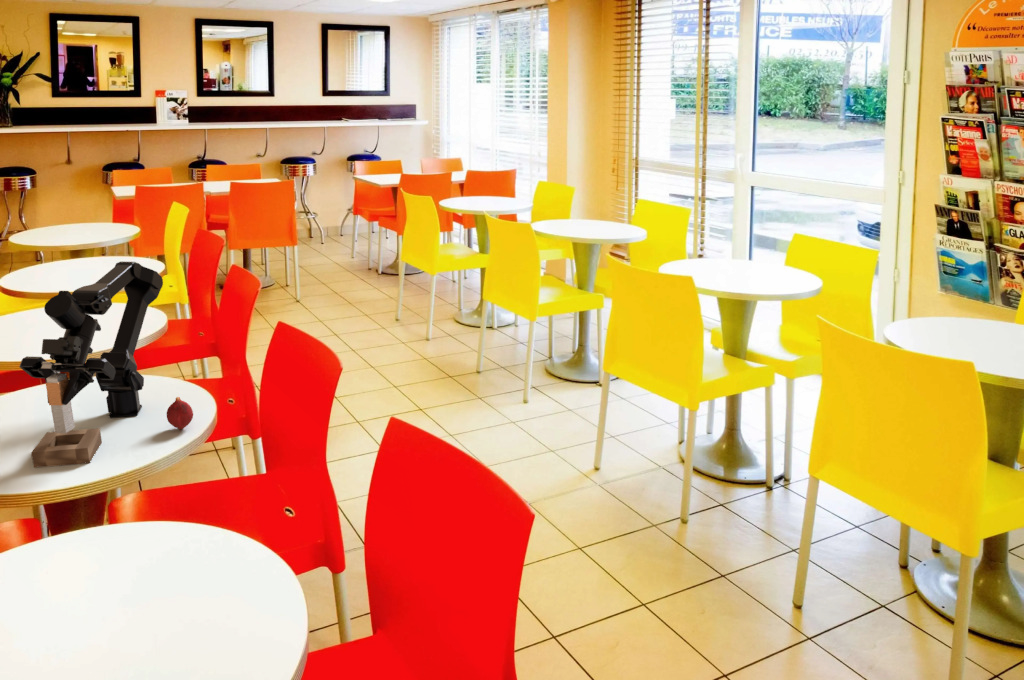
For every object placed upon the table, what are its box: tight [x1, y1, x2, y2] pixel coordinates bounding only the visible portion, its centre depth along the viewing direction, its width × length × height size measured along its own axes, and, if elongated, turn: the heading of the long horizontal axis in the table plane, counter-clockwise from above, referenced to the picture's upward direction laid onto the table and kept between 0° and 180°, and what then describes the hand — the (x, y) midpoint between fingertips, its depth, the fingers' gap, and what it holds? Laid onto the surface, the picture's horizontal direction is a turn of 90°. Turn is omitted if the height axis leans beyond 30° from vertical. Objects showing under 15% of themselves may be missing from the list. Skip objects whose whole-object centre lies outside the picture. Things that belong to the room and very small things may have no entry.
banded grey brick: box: [45, 372, 76, 433], centre depth 183 cm, size 4×3×12 cm
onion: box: [166, 396, 194, 430], centre depth 199 cm, size 6×6×8 cm
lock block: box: [30, 427, 103, 469], centre depth 186 cm, size 11×11×4 cm
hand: (57, 404), depth 182 cm, fingers closed on banded grey brick, 3 cm apart
